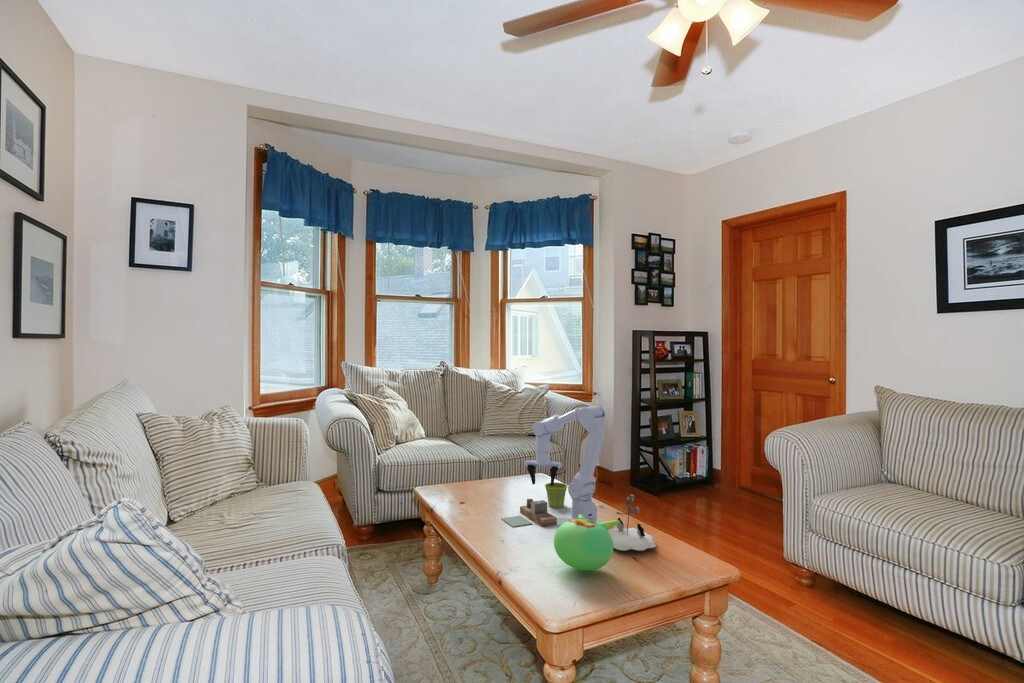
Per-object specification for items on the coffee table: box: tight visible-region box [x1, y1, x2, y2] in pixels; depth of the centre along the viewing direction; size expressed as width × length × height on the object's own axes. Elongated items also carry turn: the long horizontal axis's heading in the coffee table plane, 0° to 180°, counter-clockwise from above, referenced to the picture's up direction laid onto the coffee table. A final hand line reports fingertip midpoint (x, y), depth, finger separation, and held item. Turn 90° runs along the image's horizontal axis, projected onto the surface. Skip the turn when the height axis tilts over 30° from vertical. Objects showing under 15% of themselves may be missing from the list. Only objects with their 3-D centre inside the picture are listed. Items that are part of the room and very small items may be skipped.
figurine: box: [607, 494, 657, 551], centre depth 179 cm, size 20×18×16 cm
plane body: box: [519, 498, 558, 528], centre depth 203 cm, size 18×6×6 cm, turn 26°
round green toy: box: [553, 514, 620, 571], centre depth 158 cm, size 18×17×15 cm
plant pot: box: [544, 482, 569, 509], centre depth 218 cm, size 9×9×9 cm
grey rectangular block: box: [531, 499, 548, 515], centre depth 202 cm, size 3×5×4 cm, turn 116°
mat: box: [501, 515, 533, 528], centre depth 199 cm, size 10×8×1 cm
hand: (542, 484), depth 215 cm, fingers open, 7 cm apart
